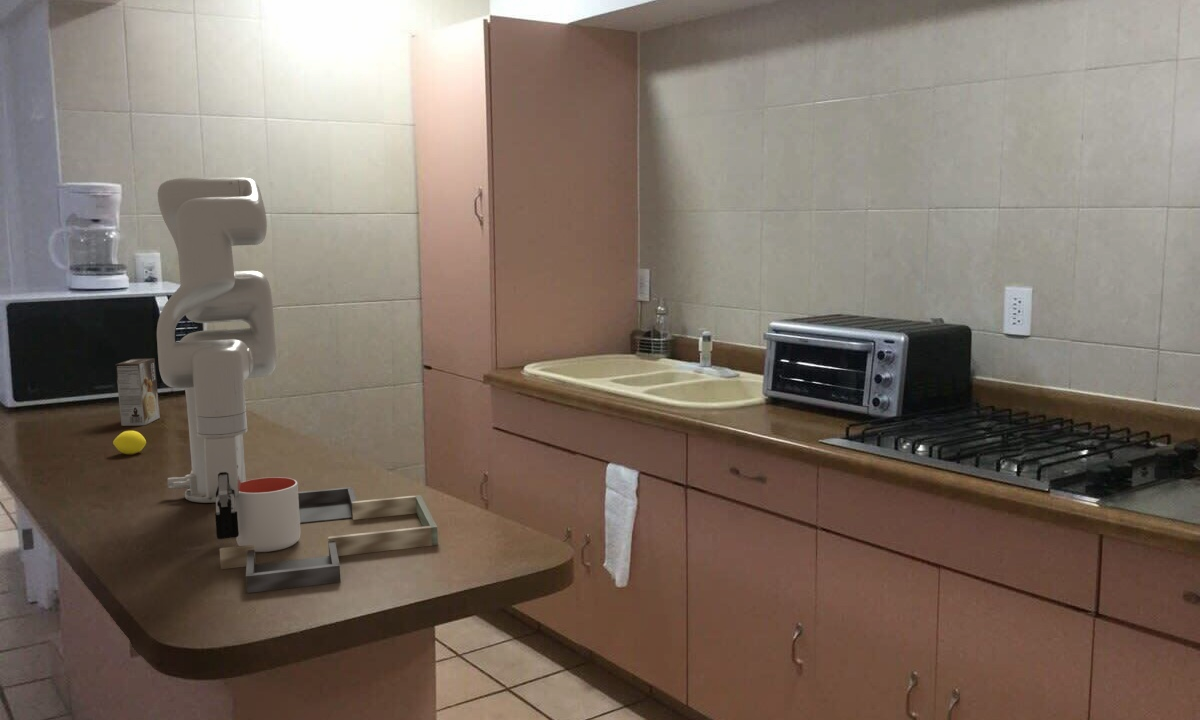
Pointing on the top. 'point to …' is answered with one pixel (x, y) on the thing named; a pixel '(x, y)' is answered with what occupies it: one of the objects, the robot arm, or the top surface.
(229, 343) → the robot arm
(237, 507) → the cup
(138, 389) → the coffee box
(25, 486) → the top surface
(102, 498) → the top surface
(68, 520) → the top surface
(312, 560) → the box
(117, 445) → the lemon
